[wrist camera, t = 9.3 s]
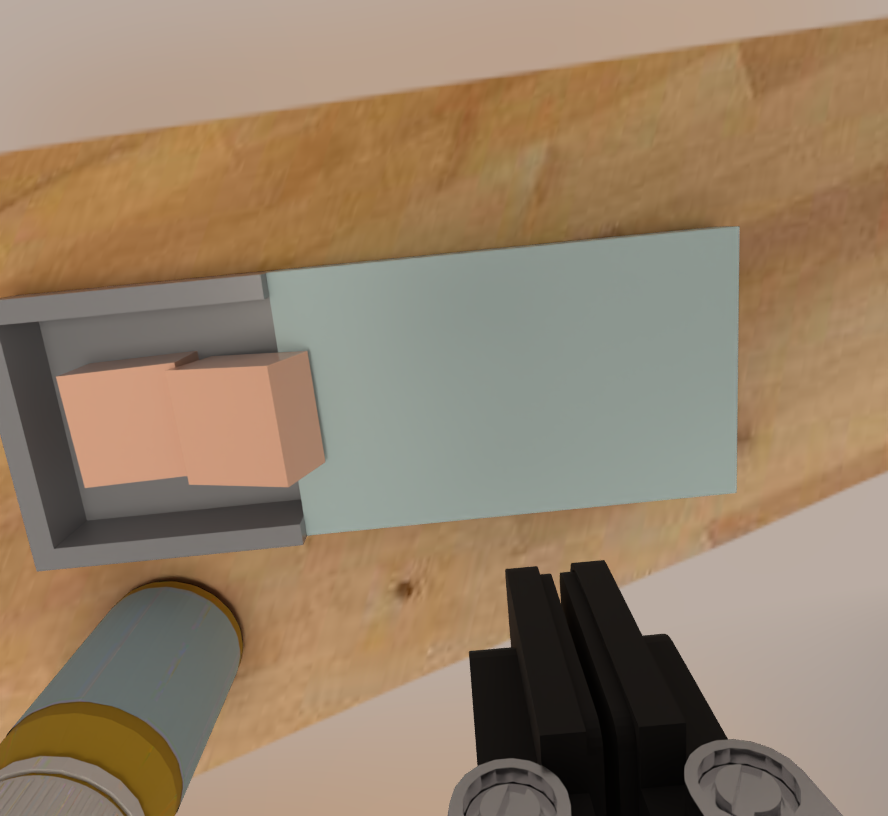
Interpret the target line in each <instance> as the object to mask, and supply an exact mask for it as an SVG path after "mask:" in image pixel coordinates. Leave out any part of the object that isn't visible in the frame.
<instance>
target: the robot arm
mask: <svg viewBox="0 0 888 816" xmlns="http://www.w3.org/2000/svg"><path fill="white" fill-rule="evenodd" d="M505 574H506V588H507V601H508V613H509V626H510V638H511V648H499V649H488V650H477V651H469V658H470V672H471V684H472V698H473V712H474V723H475V724H474V725H475V737H476V752H477V764H478V766H477V767H476V768H474V769H473V770H471V771H470V772H468V773H467V774H465V775H464V777H463V778H462V779H461V780H460V782H459V783H458V784H457V785H456V787H455V789H454V791H453V794H452V797H451V800H450V804H449V810H448V816H843V815H842V814H841V813H840V812H839V811H838V810H837V808H836V807H835V806H834V805H833V804H832V803H831V802H830V800H829V799H828V798H827V797H826V796H825V795H824V794H823V793H822V791H821V790H820V789H819V788H818V787H817V786H816V785H815V784H814V783H813V781H812V780H811V779H810V778H809V777H808V776H807V774H806V773H805V772H804V771H803V770H802V769H800V768H799V767H798V766H797V765H796V764H795V763H794V762H793V761H792V760H790V759H789V758H788V757H786V756H784V755H782V754H781V753H779V752H777V751H775V750H774V749H772V748H769V747H766V746H763V745H761V744H757V743H754V742H751V741H743V740H736V739H728V738H727V737H726V735H725V733H724V731H723V730H722V728H721V726H720V724H719V723H718V721H717V719H716V717H715V716H714V714H713V712H712V710H711V708H710V707H709V705H708V703H707V701H706V700H705V698H704V696H703V694H702V693H701V691H700V689H699V687H698V686H697V684H696V682H695V680H694V678H693V677H692V675H691V673H690V672H689V670H688V668H687V666H686V664H685V663H684V661H683V659H682V658H681V655H680V654H679V652H678V650H677V649H676V647H675V645H674V643H673V641H672V640H671V639H670V637H669V636H668V635H666V634H656V635H645V636H642V634H641V632H640V630H639V628H638V626H637V624H636V622H635V620H634V618H633V616H632V614H631V612H630V610H629V608H628V606H627V604H626V602H625V600H624V598H623V596H622V594H621V592H620V590H619V588H618V586H617V584H616V582H615V580H614V578H613V576H612V574H611V572H610V570H609V568H608V566H607V564H606V562H605V561H604V560H601V561H590V562H579V563H571V572H563V573H560V593H561V603H560V600H559V596H558V593H557V590H556V587H555V584H554V581H553V578H552V575H551V574H541V575H540V573H539V570H538V567H537V566H535V567H524V568H513V569H506V570H505Z"/></svg>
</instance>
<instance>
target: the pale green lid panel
mask: <svg viewBox="0 0 888 816" xmlns="http://www.w3.org/2000/svg"><path fill="white" fill-rule="evenodd" d="M266 278H267V284H268V291H269V297H270V304H271V310H272V316H273V323H274V329H275V335H276V342H277V348H278V352H296V351H308V358H309V364H310V370H311V376H312V382H313V388H314V394H315V401H316V407H317V413H318V419H319V425H320V431H321V438H322V444H323V450H324V456H325V463H324V464H322V465H321V466H319V467H318V468H316V469H315V470H313V471H312V472H310V473H309V474H307V475H306V476H304V477H303V478H301V479H300V480H299V481H298V482H299V488H300V495H301V501H302V507H303V514H304V520H305V526H306V533H307V535H317V534H327V533H337V532H347V531H357V530H367V529H377V528H387V527H397V526H407V525H418V524H428V523H438V522H448V521H458V520H468V519H478V518H488V517H498V516H508V515H518V514H528V513H538V512H548V511H559V510H569V509H579V508H589V507H599V506H609V505H619V504H629V503H639V502H649V501H659V500H669V499H679V498H689V497H700V496H710V495H720V494H730V493H736V490H737V401H738V312H739V226H731V227H708V228H698V229H688V230H677V231H667V232H657V233H647V234H637V235H627V236H616V237H606V238H596V239H586V240H576V241H566V242H555V243H545V244H535V245H525V246H515V247H505V248H495V249H484V250H474V251H464V252H454V253H444V254H434V255H423V256H413V257H403V258H393V259H383V260H373V261H362V262H352V263H342V264H332V265H322V266H312V267H301V268H291V269H281V270H275V271H271V272H268V273H266Z"/></svg>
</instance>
